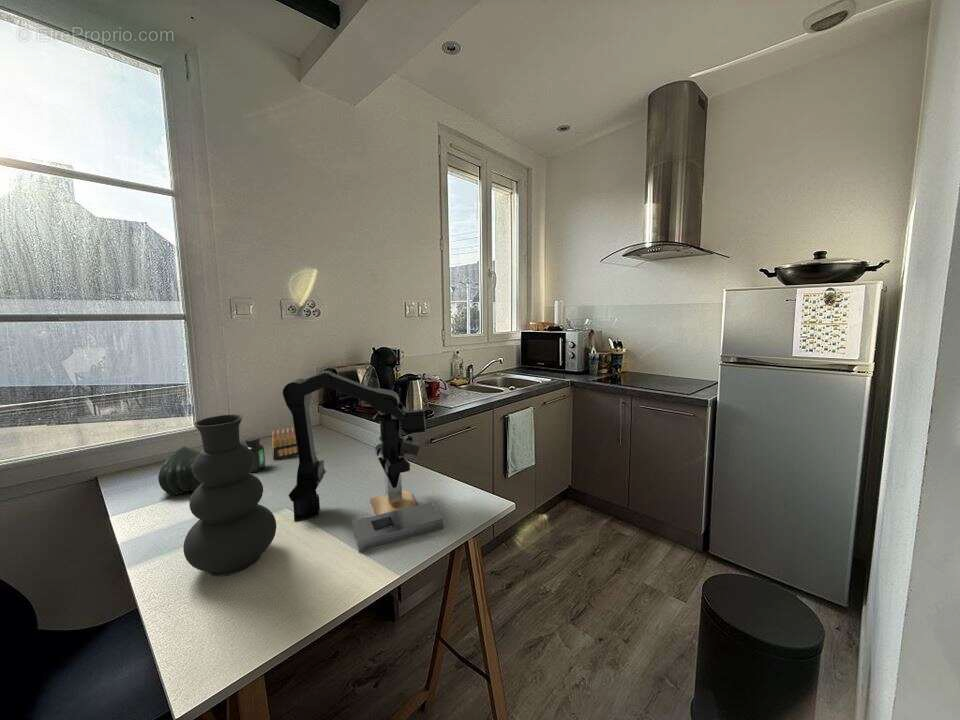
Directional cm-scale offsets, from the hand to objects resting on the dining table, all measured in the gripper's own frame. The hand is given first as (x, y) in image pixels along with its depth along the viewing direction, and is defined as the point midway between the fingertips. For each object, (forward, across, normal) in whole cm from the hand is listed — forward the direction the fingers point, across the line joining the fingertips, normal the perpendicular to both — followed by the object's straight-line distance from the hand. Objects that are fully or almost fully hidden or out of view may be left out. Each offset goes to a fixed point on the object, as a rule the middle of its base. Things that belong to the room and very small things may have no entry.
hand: (393, 484), depth 116 cm
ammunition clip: (+7, +60, +29) cm, 67 cm away
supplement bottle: (+7, +52, +40) cm, 66 cm away
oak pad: (+7, 0, 0) cm, 7 cm away
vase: (+7, -8, +40) cm, 41 cm away
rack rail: (+7, -13, +2) cm, 15 cm away
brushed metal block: (+5, 0, 0) cm, 5 cm away
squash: (+7, +44, +59) cm, 74 cm away
